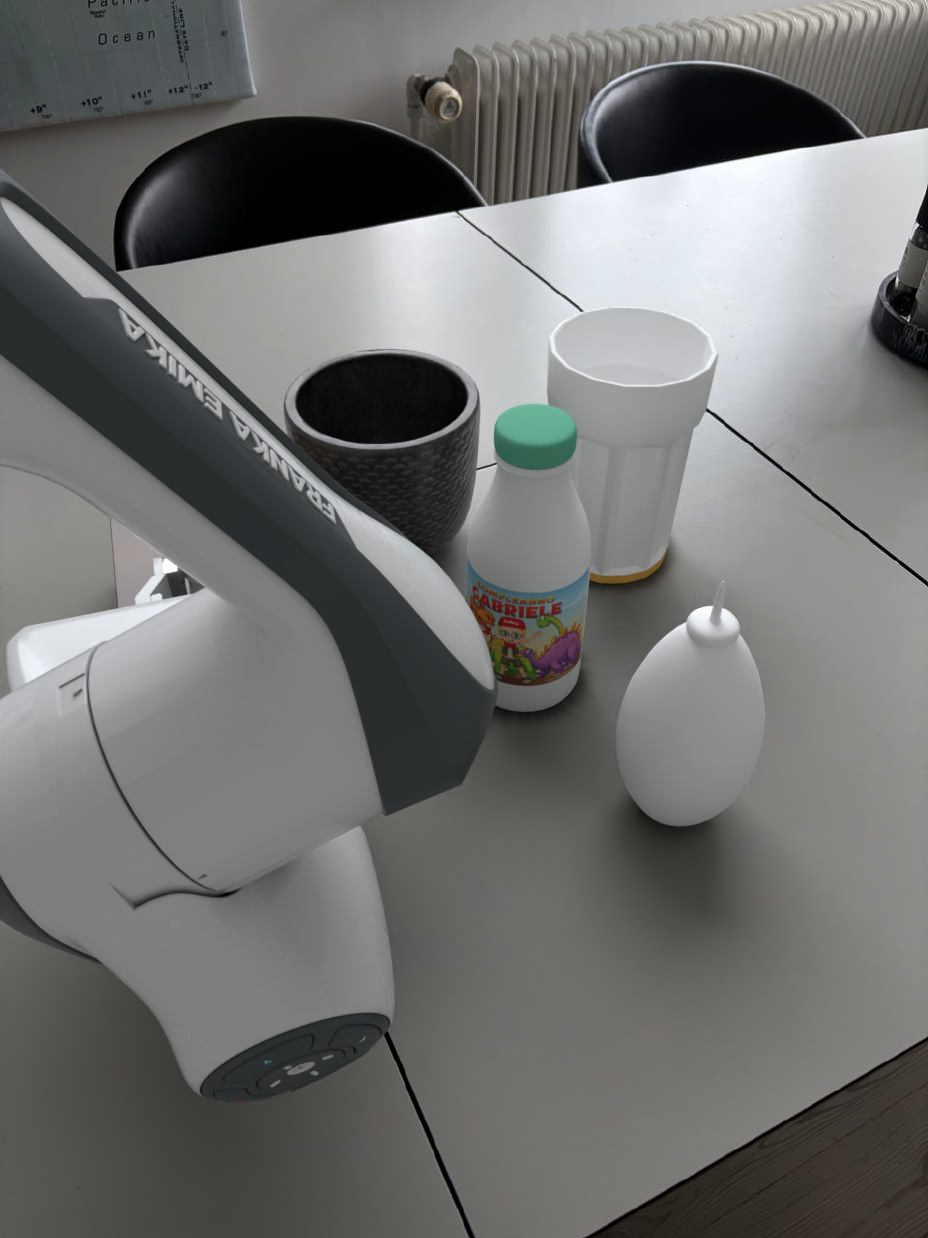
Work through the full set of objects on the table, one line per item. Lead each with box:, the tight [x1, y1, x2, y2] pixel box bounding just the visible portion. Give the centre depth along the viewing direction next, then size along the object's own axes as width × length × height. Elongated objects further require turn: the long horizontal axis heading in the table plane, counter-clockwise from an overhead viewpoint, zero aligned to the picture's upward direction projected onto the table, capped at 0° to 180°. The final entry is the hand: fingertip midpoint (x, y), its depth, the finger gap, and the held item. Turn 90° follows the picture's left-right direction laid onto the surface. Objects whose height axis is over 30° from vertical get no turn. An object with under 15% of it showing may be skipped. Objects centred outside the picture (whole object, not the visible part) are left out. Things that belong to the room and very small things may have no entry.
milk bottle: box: [465, 403, 591, 713], centre depth 62 cm, size 8×8×20 cm
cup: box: [546, 306, 720, 584], centre depth 73 cm, size 11×11×17 cm
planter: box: [283, 348, 481, 558], centre depth 75 cm, size 14×14×13 cm
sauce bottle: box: [615, 580, 766, 827], centre depth 55 cm, size 8×8×18 cm
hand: (205, 558), depth 56 cm, fingers closed on rook chess piece, 3 cm apart
